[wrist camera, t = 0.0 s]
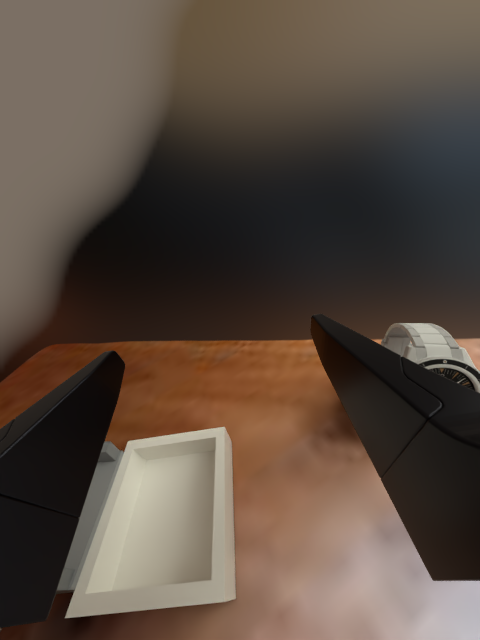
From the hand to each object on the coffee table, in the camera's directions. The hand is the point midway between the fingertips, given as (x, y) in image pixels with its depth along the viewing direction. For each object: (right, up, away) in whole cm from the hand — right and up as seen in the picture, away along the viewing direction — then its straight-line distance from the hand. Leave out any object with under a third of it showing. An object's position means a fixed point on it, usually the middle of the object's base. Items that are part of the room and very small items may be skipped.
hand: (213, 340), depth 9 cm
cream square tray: (-4, -16, +8) cm, 18 cm away
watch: (+17, -9, +11) cm, 22 cm away
